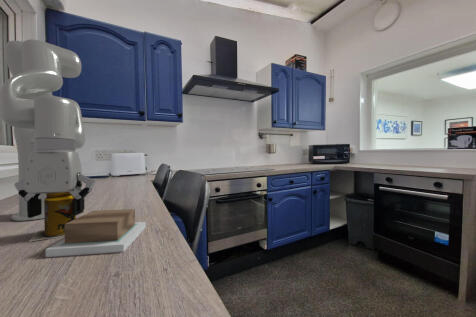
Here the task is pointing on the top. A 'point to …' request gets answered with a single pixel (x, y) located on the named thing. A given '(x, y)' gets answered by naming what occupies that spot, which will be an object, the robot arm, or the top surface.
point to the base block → (100, 226)
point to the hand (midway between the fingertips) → (56, 215)
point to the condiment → (56, 215)
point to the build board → (96, 244)
